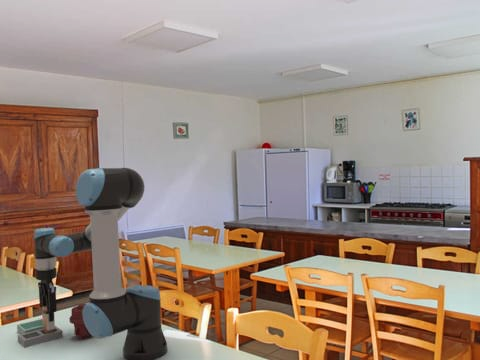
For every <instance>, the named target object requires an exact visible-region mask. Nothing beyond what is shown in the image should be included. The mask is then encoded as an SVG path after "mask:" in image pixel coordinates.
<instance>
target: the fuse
mask: <svg viewBox="0 0 480 360" xmlns="http://www.w3.org/2000/svg"><path fill="white" fill-rule="evenodd" d="M46 312H47V305H46V306H43V307H42V309H41V314H42V313H43V334H47V333H51V332H55V330H54V329H52V330H47V318H46V314H45V313H46Z"/></svg>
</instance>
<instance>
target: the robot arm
mask: <svg viewBox="0 0 480 360" xmlns="http://www.w3.org/2000/svg"><path fill="white" fill-rule="evenodd" d="M144 192H145V182H144V179H143V178H142V176H141V174H140V173H138V172H137V171H136V170H135V169H132V168H130V167H129V168H128V167H113V168H112V167H111V168H109V167H106V168H104V167H102V168H101V167H98V168H90V169H86V170H84V171H82V172H81V174H80V175H79V177H78V179H77V182H76V186H75V196H76V199H77V202H78V204H79V205H80V206H83V207H84V212H85V213H86V215H87V214H88V216H89V219H90V220H89V224H88V225H87V226H86V228H85V229H84V230H83V231H80V232H74V233H65V234H58V235H57V234H56V231H55V228H53V227H44V228H42V227H41V228H38V229H35V230H34V232H33V242H34V243H33V244H34V248H33V249H34V266H35V268H34V269H36V270H35V280H37V281H39V282H38V283H37V285H38V296H39V297H38V299H39V308H40V309H41V310H42V307H43V306H46V305H47V312H46V313H45V314H46V318H47V330H52V329H55V326H56V325H55V322H56V320H55V313H56V312H57V286H55V285H54V282H53V280H54V279H55V278H58V272H57V260H58V258H66V257H68V256H69V255H71V254H76V253H80V252H81V253H83V252H87V251H91V254H92V255H91V258H92V262H91V263H92V276H93V277H92V279H93V281H92V282H93V290H92V292H91V293H90V294H89V295H88V297H89V299H88V300H89V302H87V303H85V304H86V305H85V306H84V309H83V312H82V315H83V321H84V324H85V326H86V328H87V330H88V331H89V333H90V334H91V335H92V336H91V337H93V338H95V339H103V338H107V337H112V336H113V335H116V334H119V333H122V332H124V331H127V333H126V337H125V339H124V340H125V341H124V344H123V347H122V355H123V358H124V359H126V360H156V359H157V358H158V359H159V358H160V357H163V356H164V355H165V354H166V353H168V343H167V339H166V337H165V334H164V331H163V328H162V311H161V310H162V309H161V308H162V307H161V303H162V302H161V300H162V299H161V293H160V289H159V288H158V287H156V286H153V285H141V284H139V285H138V284H137V285H129V286H126V288H123V287H122V274H121V259H120V258H121V257H120V256H121V255H120V254H121V253H120V238H119V237H120V236H119V221H120V219H121V218H122V217H123V216H124V215H125V214H126V213H127V212H128V210H130V209H132V208H135V207H136V206H137V204H139V203H140V201H141V199H142V198H143V197H144ZM57 257H58V258H57ZM41 314H42V315H41V316H42V318H41V319H42V320H43V313H42V312H41Z"/></svg>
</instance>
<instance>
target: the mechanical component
mask: <svg viewBox="0 0 480 360" xmlns="http://www.w3.org/2000/svg"><path fill="white" fill-rule="evenodd" d="M86 304H87V303H81V304H78V305H76V306H74V307H72V308H71V316H69V318H68V319H69V323H71V324H73V326H74V328H73V329H74V330H73V334H74V335H75V336H76V337H77V339H78V340H79V341H80V340H81V341H82V340H83V339H86V338H89V337H93V336H92V335H91V334H90V333H89V331H88V330H87V328H86V326H85V324H84V321H83V315H82V312H83V309H84V306H85V305H86Z"/></svg>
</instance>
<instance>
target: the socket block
mask: <svg viewBox="0 0 480 360" xmlns="http://www.w3.org/2000/svg"><path fill="white" fill-rule="evenodd" d="M54 330H55V332H51V333H47V334H43V329H40V330H36V331H32V332H28V333H24V334H21V335H20V334H18V335H17V342H18V343H19V344H20V345H21V346H22V347H23V348H27V347H32V346H35V345H39V344H42V343H46V342H49V341H52V340H54V341H55V340H57V339H61V338H64V335H63V330H62V329H61V328H59V327H58V326H56V325H55V329H54Z"/></svg>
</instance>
